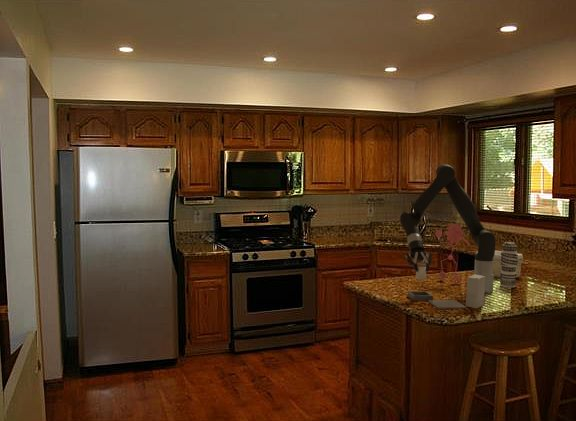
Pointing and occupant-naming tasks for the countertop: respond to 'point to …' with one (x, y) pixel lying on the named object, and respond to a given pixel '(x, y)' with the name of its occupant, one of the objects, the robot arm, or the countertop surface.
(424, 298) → the grey holder
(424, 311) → the countertop surface
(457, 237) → the figurine
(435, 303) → the slate tile
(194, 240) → the countertop surface
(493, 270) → the storage basket
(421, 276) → the cream jar
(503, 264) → the decorative candle
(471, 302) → the skincare box
